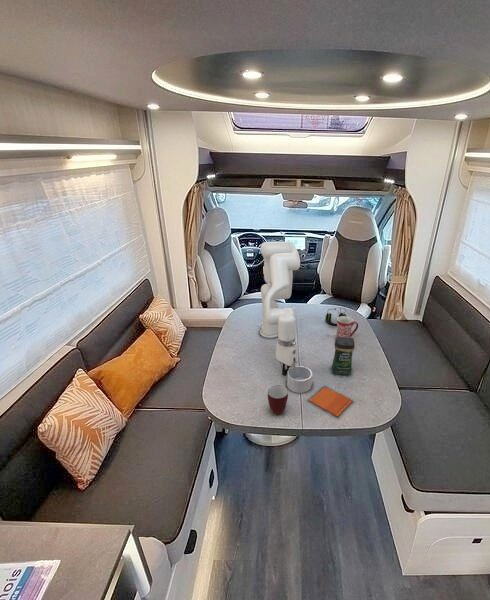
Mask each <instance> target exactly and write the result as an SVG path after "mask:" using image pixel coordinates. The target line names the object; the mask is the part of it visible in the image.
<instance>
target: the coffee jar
mask: <svg viewBox="0 0 490 600" xmlns="http://www.w3.org/2000/svg"><path fill="white" fill-rule="evenodd" d="M355 343H356V342H355V339H354V337H350V338H348V337H337V336H336V337H335V341H334V356H333V359H332V363H331V371H332V373H334V374H335V375H341V376H348V375H351V373H352V368H353V367H352V364H353V363H352V362H353V352H354V351H355V349H356V348H355Z"/></svg>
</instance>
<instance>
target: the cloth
mask: <svg viewBox="0 0 490 600" xmlns="http://www.w3.org/2000/svg"><path fill="white" fill-rule="evenodd" d="M309 402H311V403H312V404H314V405H316V406H317V407H319V408H321V409H323V410H325V411H326V412H328V413H330V414H332V415H333V416H335V417H336V418H337V417H338V416H340V415H341V413H343V411H345V409H346V408H348V406H349V405H350V404H351V403H352V402H353V401H352V400H351V399H350V398H349V397H347V396H345V395H343V394H342V393H338V392H336V391H334V390H332V389H330V388H328V387H326V386H324V387H323V388H322V389H321V390H320V391H318V392H317V393H316V394H315V395H314V396H313V397H311V398H310V399H309Z"/></svg>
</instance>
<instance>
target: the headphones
mask: <svg viewBox="0 0 490 600" xmlns="http://www.w3.org/2000/svg"><path fill="white" fill-rule="evenodd" d="M343 309H344V311H343V312H342V307H340V308H339V310H340V311H339V313H338V317H341V316H346V317H348V316H347V315H346V312H347V310H346V308H345V307H343ZM330 310H335V311H336V310H337V308H336V307H335V308H329V309H328V311H326V312H327V313H326V314H325V318H324V320H325V322H326V324H327V325H329V326H331V327H335V328H337V323H335V322H332V316H333V314H332V313H329V311H330Z"/></svg>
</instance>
